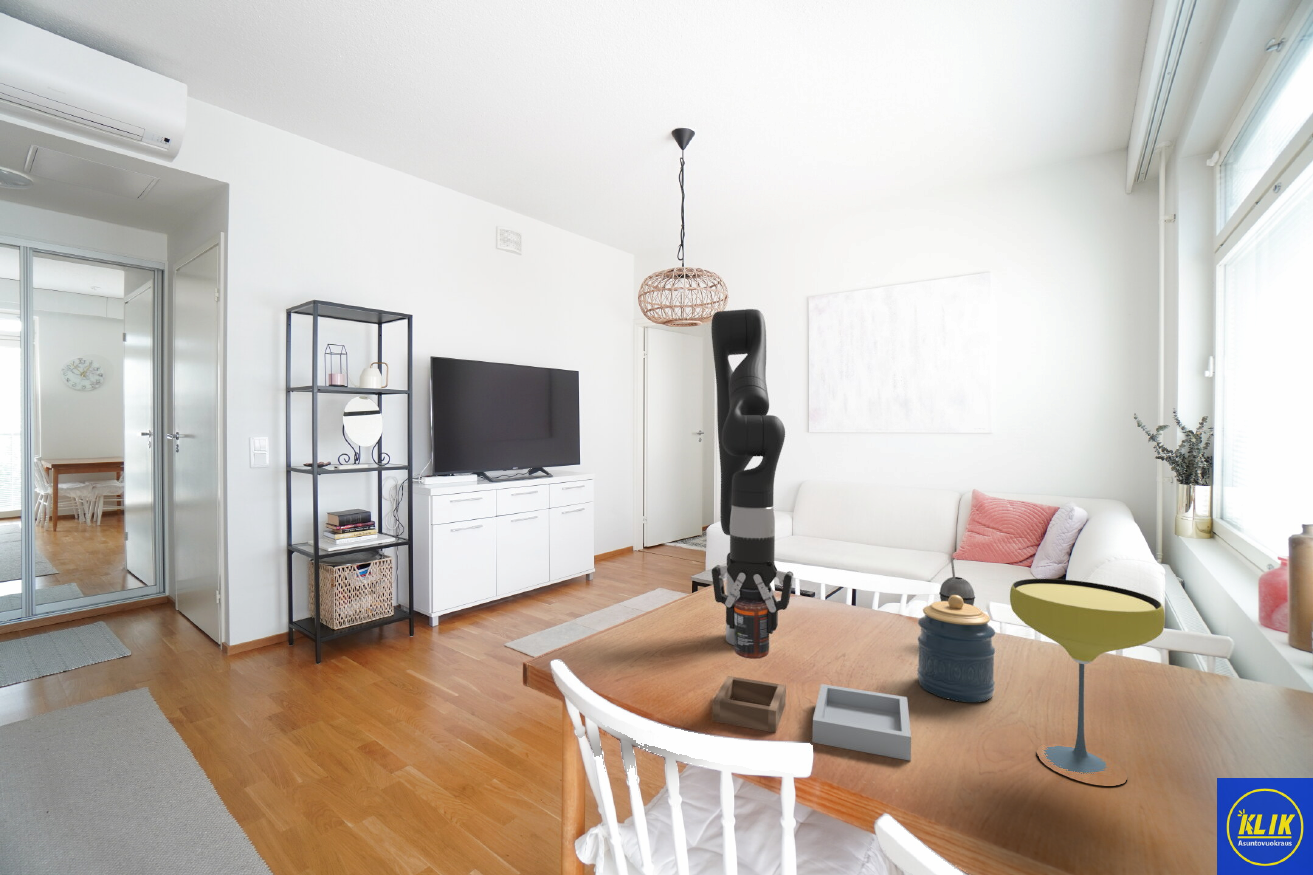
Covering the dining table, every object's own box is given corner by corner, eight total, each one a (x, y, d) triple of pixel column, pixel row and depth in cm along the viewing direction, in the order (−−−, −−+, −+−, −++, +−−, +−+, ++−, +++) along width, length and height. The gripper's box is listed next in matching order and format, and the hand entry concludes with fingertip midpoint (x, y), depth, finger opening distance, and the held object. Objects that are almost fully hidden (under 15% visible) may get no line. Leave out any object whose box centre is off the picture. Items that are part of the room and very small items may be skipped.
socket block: (727, 694, 107) (727, 675, 107) (785, 704, 104) (785, 684, 104) (712, 720, 98) (712, 699, 98) (775, 732, 94) (775, 710, 94)
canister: (990, 681, 114) (992, 591, 114) (998, 710, 103) (999, 608, 102) (917, 669, 120) (918, 583, 120) (916, 695, 108) (917, 599, 108)
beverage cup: (979, 653, 129) (980, 562, 129) (943, 650, 131) (944, 560, 131) (968, 641, 136) (969, 555, 136) (934, 639, 138) (935, 553, 138)
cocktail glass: (1197, 794, 79) (1200, 608, 79) (1086, 811, 75) (1089, 615, 75) (1075, 728, 96) (1077, 575, 96) (980, 739, 93) (982, 580, 92)
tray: (820, 703, 104) (821, 683, 104) (906, 717, 99) (906, 697, 99) (812, 742, 91) (812, 719, 91) (910, 760, 86) (911, 736, 86)
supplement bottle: (771, 649, 103) (772, 584, 103) (766, 662, 97) (767, 594, 97) (737, 645, 105) (738, 581, 104) (730, 657, 99) (731, 590, 99)
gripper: (798, 531, 101) (797, 628, 102) (716, 525, 107) (716, 618, 107) (792, 539, 94) (791, 643, 95) (705, 532, 100) (704, 631, 100)
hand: (751, 629), depth 101 cm, fingers closed on supplement bottle, 6 cm apart
